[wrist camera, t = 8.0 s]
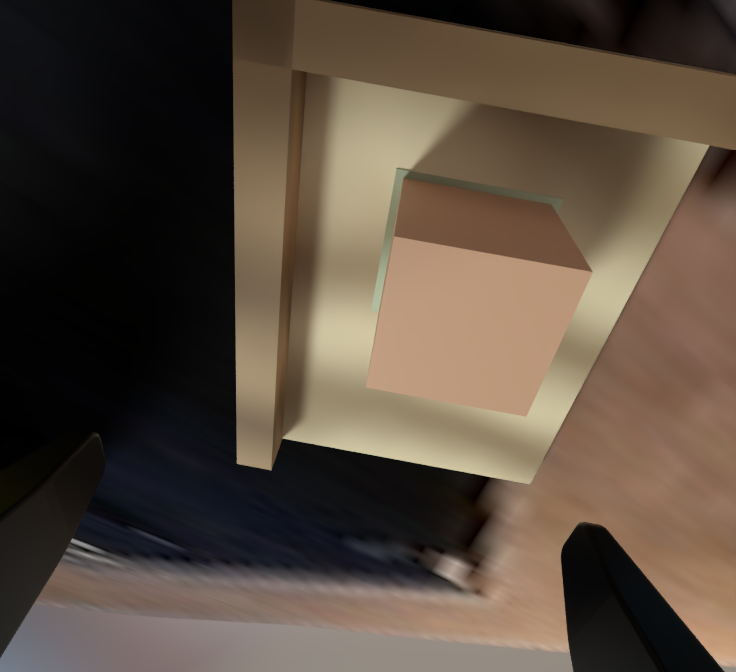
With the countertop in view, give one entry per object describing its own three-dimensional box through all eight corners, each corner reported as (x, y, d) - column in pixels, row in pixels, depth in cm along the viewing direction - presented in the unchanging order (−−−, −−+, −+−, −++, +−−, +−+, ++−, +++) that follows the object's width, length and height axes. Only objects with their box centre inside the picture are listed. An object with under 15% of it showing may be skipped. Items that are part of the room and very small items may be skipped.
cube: (551, 204, 16) (592, 272, 12) (505, 327, 19) (526, 416, 15) (403, 177, 16) (394, 236, 12) (379, 304, 19) (366, 387, 15)
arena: (526, 468, 25) (537, 519, 22) (256, 418, 25) (237, 463, 22) (727, 72, 14) (789, 86, 12) (265, -12, 14) (232, -15, 12)
